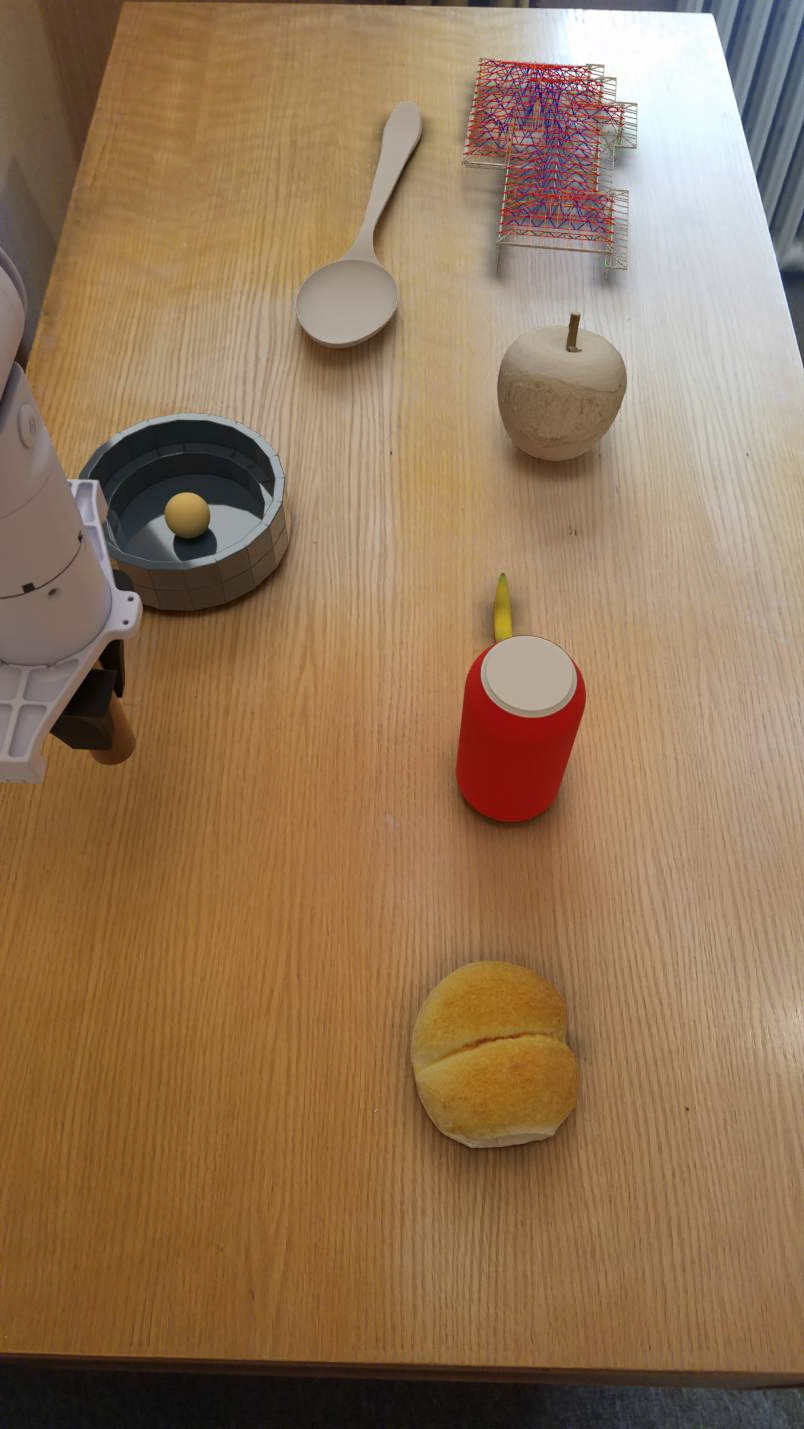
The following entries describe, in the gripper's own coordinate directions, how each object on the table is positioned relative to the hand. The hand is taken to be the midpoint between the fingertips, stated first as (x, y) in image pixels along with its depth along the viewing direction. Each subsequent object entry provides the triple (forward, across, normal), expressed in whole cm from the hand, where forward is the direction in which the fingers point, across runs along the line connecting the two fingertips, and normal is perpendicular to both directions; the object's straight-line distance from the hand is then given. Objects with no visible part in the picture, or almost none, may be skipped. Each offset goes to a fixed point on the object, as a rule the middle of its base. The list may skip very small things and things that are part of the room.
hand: (98, 717), depth 51 cm
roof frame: (+10, +63, -26) cm, 69 cm away
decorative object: (+11, +30, -25) cm, 41 cm away
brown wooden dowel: (+3, 0, 0) cm, 3 cm away
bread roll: (+10, -14, -20) cm, 27 cm away
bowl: (+10, +20, 0) cm, 23 cm away
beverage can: (+10, +2, -21) cm, 24 cm away
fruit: (+11, +14, -21) cm, 27 cm away
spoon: (+11, +54, -11) cm, 56 cm away
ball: (+8, +20, 0) cm, 22 cm away
